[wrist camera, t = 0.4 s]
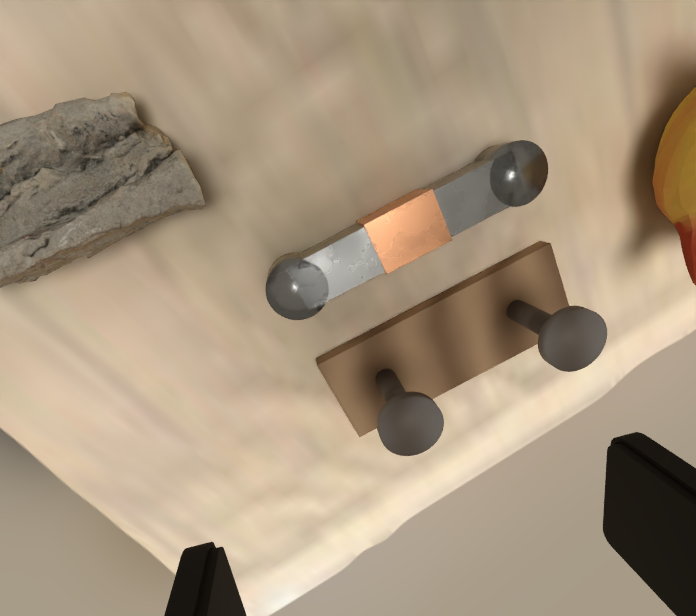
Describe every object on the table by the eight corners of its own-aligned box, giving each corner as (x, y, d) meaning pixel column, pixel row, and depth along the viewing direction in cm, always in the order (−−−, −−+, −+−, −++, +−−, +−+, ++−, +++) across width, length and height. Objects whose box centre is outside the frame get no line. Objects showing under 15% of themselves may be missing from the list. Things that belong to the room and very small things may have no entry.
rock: (209, 230, 36) (216, 197, 26) (-2, 340, 29) (-89, 347, 20) (138, 121, 34) (119, 44, 24) (-105, 214, 27) (-253, 157, 18)
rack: (540, 241, 36) (623, 257, 27) (564, 319, 39) (646, 358, 30) (316, 358, 36) (325, 414, 27) (356, 428, 39) (377, 498, 30)
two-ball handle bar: (513, 134, 33) (539, 128, 30) (529, 189, 35) (556, 189, 31) (256, 269, 33) (253, 278, 30) (285, 317, 35) (285, 331, 31)
